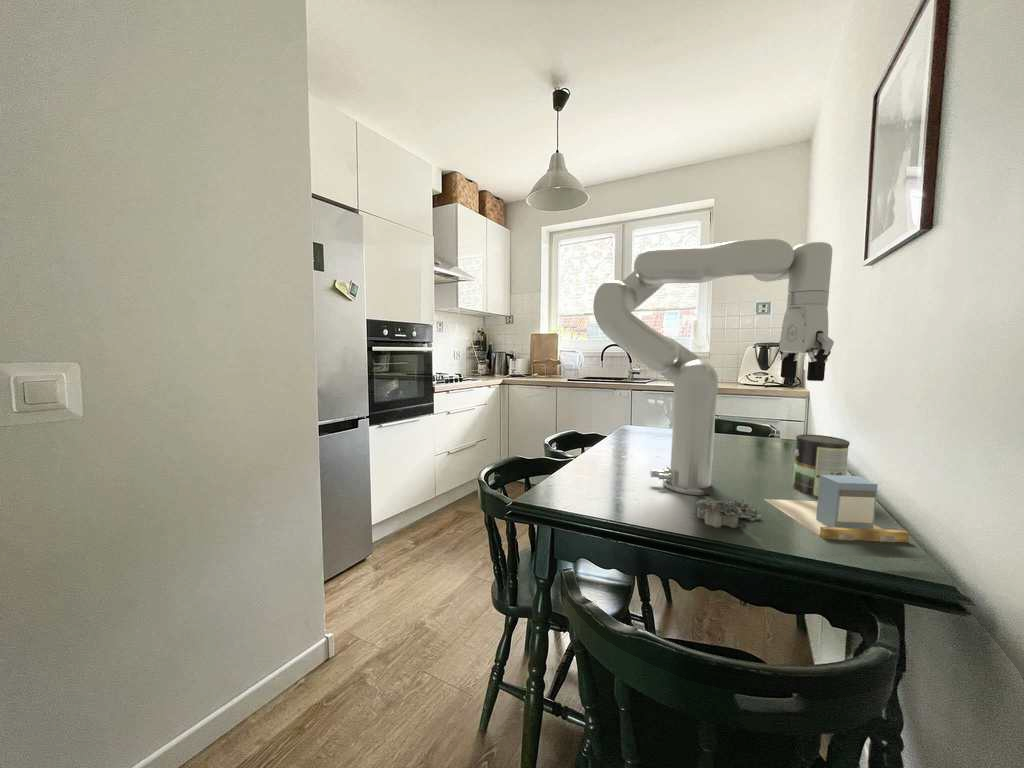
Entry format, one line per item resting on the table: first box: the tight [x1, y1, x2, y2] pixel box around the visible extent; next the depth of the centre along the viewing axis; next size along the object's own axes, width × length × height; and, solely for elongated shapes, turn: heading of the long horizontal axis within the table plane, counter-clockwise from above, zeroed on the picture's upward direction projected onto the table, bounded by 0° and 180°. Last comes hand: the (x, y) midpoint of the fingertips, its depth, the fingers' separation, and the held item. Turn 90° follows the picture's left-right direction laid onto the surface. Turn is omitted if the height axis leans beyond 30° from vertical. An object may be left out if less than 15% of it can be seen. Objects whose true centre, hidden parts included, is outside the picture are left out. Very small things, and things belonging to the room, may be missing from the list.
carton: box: [816, 475, 879, 529], centre depth 82 cm, size 5×7×9 cm
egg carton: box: [695, 498, 763, 529], centre depth 87 cm, size 11×8×4 cm
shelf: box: [763, 498, 910, 543], centre depth 86 cm, size 14×20×3 cm
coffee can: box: [792, 433, 850, 497], centre depth 103 cm, size 10×10×14 cm
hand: (801, 379), depth 96 cm, fingers open, 9 cm apart
